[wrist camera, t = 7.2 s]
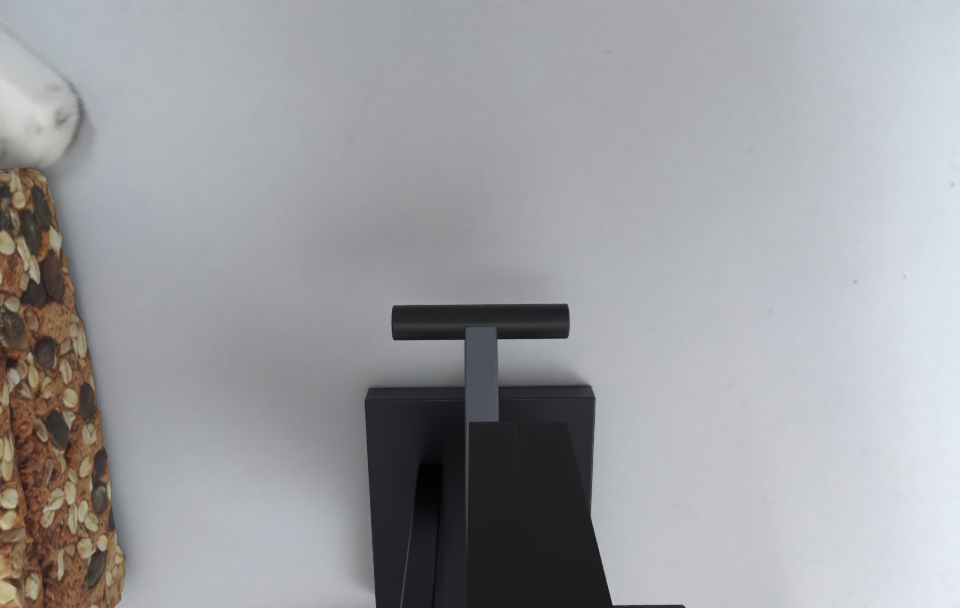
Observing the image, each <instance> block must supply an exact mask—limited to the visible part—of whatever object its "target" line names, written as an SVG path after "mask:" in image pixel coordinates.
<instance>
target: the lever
mask: <svg viewBox="0 0 960 608" xmlns="http://www.w3.org/2000/svg"><path fill="white" fill-rule="evenodd" d="M391 323H392V337H393V340H465V478H466V601H467V528H468V455H469V422H490V421H499V400H498V351H497V339H566V338H568V336H569V329H570V316H569V307H568V305H567V304H484V305H394V306H393V308H392V320H391Z"/></svg>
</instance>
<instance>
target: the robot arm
mask: <svg viewBox="0 0 960 608" xmlns="http://www.w3.org/2000/svg"><path fill="white" fill-rule="evenodd" d="M466 608H685V607H684V606H683V605H612V601H611V597H610V593H609V589H608V585H607V581H606V577H605V573H604V569H603V565H602V561H601V557H600V553H599V549H598V545H597V541H596V537H595V533H594V529H593V525H592V521H591V517H590V513H589V509H588V505H587V501H586V497H585V493H584V489H583V485H582V481H581V477H580V473H579V469H578V465H577V461H576V457H575V453H574V448H573V444H572V440H571V436H570V432H569V428H568V424H567V421H490V422H469V455H468V528H467V601H466Z"/></svg>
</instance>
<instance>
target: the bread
mask: <svg viewBox="0 0 960 608" xmlns="http://www.w3.org/2000/svg"><path fill="white" fill-rule="evenodd" d="M61 243H62V236H61V233H60V229H59V226H58V222H57V219H56V214H55V208H54V202H53V199H52V196H51V193H50V189H49V186H48V184H47V182H46V178H45V177H44V176H43V175H42V174H41V173H40V172H38V171H36V170H34V169H32V168H21V169H18V168H17V167H15V168H11V169H3V170H0V608H115V606H116V605H117V604H118V603H119V602H120V601H121V592H122V591H123V584H124V574H125V555H124V554H123V552H122V551H121V549H120V547H119V544H118V541H117V534H116V529H115V525H114V519H113V513H112V506H111V489H110V475H109V467H108V465H107V463H106V460H107V452H106V450H105V448H104V446H103V435H102V430H101V419H100V411H99V410H98V409H97V403H96V394H95V386H94V380H93V373H92V367H91V361H90V356H89V351H88V346H87V341H86V336H85V329H84V322H83V321H82V319H81V317H80V315H79V314H78V312H77V309H76V303H75V286H74V283H73V282H72V281H71V280H70V272H69V262H68V258H67V256H66V254H65V252H64V251H63V249H62V248H61Z"/></svg>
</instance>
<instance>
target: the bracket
mask: <svg viewBox="0 0 960 608" xmlns="http://www.w3.org/2000/svg"><path fill="white" fill-rule="evenodd" d="M498 400H499V421H567V424H568V428H569V432H570V436H571V440H572V444H573V448H574V453H575V457H576V461H577V465H578V469H579V473H580V477H581V481H582V485H583V489H584V493H585V497H586V501H587V505H588V509H589V513H590V517H591V498H592V473H593V449H594V424H595V400H596V398H595V396H594V393H593V390H592V388H591V386H541V387H498ZM365 417H366V435H367V453H368V471H369V490H370V508H371V526H372V544H373V562H374V580H375V599H376V608H466V478H465V387H453V388H370V389H368V392H367V395H366V398H365Z"/></svg>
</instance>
